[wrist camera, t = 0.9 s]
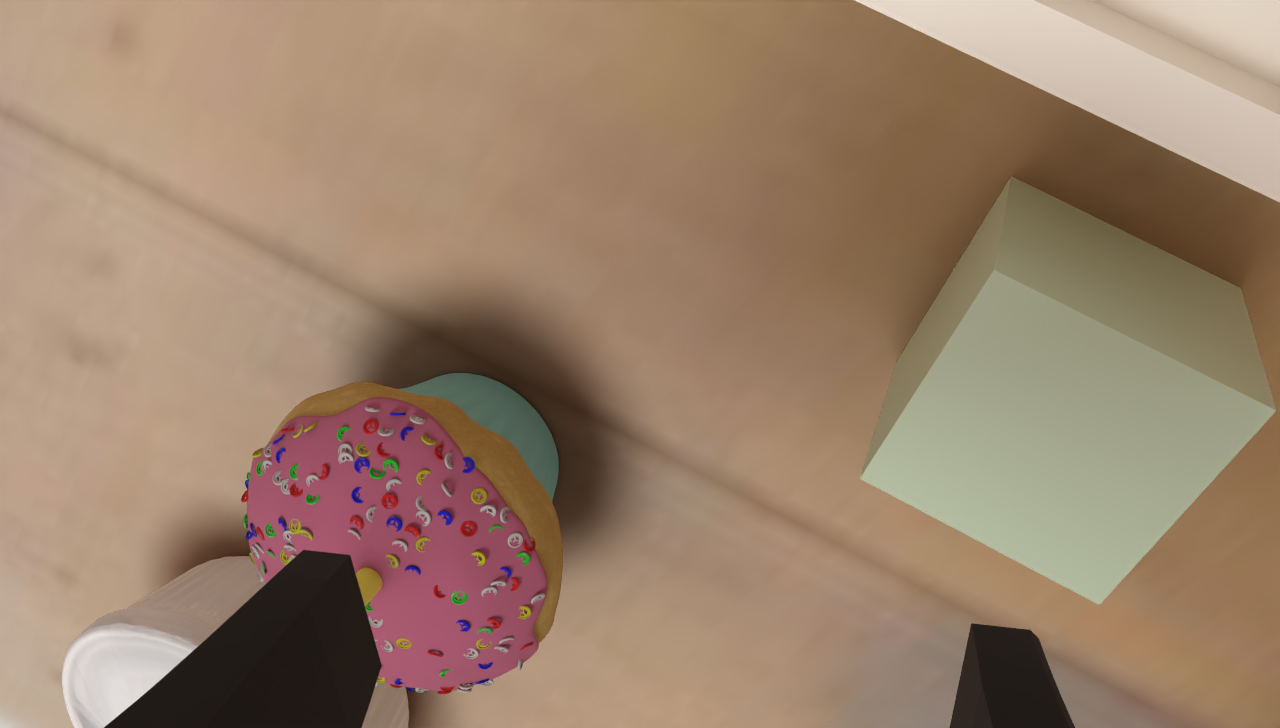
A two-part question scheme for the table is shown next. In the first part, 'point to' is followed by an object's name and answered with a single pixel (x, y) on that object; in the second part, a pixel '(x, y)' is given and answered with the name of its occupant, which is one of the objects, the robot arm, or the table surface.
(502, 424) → the cupcake
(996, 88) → the table surface
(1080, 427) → the sage block
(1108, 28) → the cream bin
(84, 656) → the ramekin
